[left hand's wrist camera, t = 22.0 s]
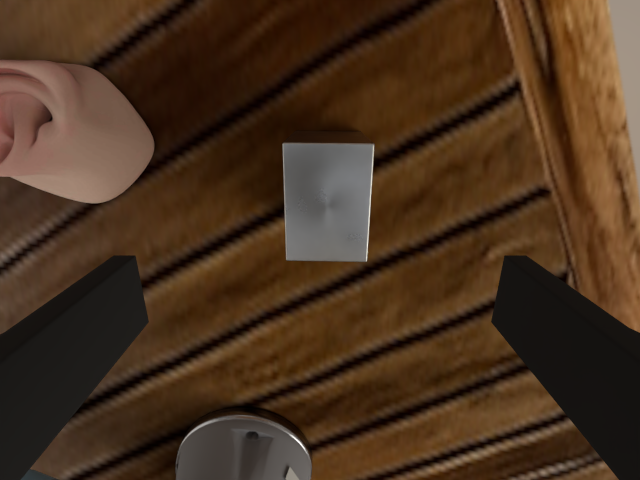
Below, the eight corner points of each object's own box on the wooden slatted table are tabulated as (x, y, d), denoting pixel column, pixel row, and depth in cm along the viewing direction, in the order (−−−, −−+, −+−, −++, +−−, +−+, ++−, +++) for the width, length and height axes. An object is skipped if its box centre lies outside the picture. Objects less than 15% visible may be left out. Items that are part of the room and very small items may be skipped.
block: (361, 131, 27) (375, 143, 19) (357, 220, 30) (367, 262, 22) (295, 130, 27) (282, 142, 20) (296, 219, 30) (285, 261, 22)
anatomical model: (145, 116, 23) (92, 250, 27) (170, 114, 27) (120, 232, 31) (-64, -7, 21) (-90, 159, 25) (-5, 9, 24) (-36, 151, 28)
